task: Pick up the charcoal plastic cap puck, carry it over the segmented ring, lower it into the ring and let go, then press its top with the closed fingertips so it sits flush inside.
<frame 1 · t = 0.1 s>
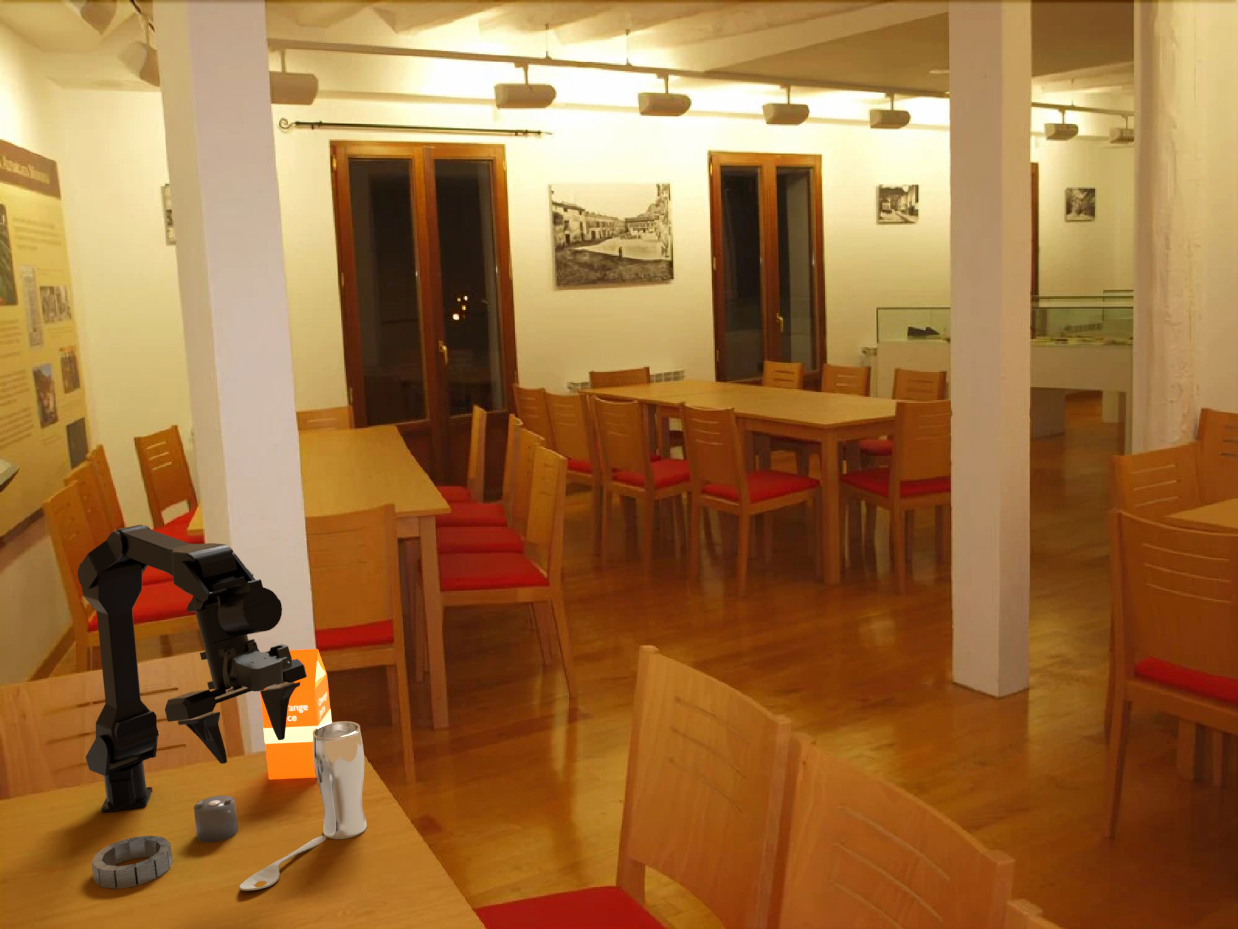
hand: (253, 751, 156), 15 cm above the table, tool pointing down, fingers open, 9 cm apart
segmented ring: (133, 870, 157), on the table
spoon: (293, 863, 158), on the table
orange juice: (302, 769, 188), on the table
beer glass: (345, 831, 165), on the table
cap: (217, 833, 166), on the table
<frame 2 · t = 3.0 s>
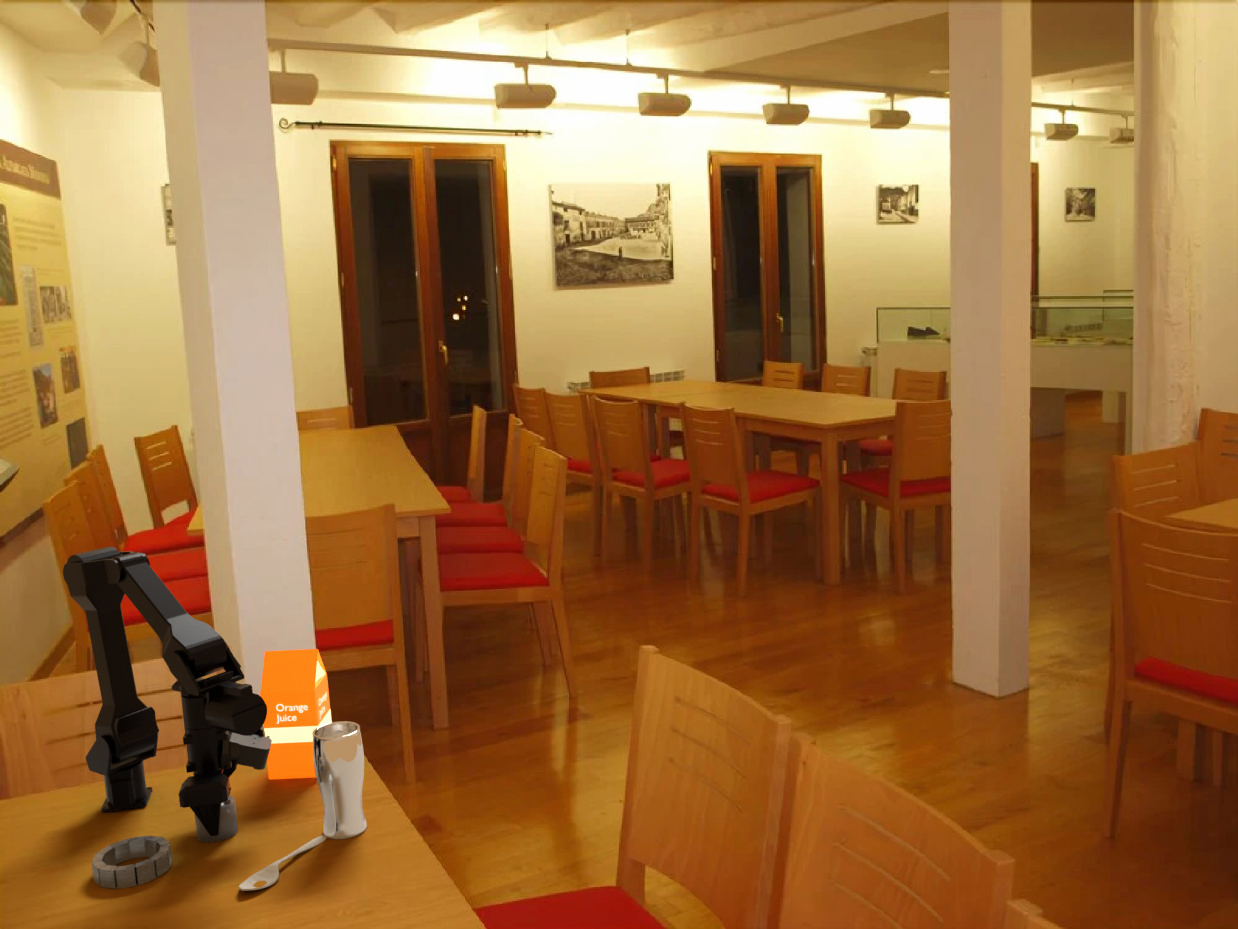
hand: (216, 826, 166), 1 cm above the table, tool pointing down, fingers closed on cap, 6 cm apart
cap: (217, 833, 166), on the table, touching gripper
everything else where it was.
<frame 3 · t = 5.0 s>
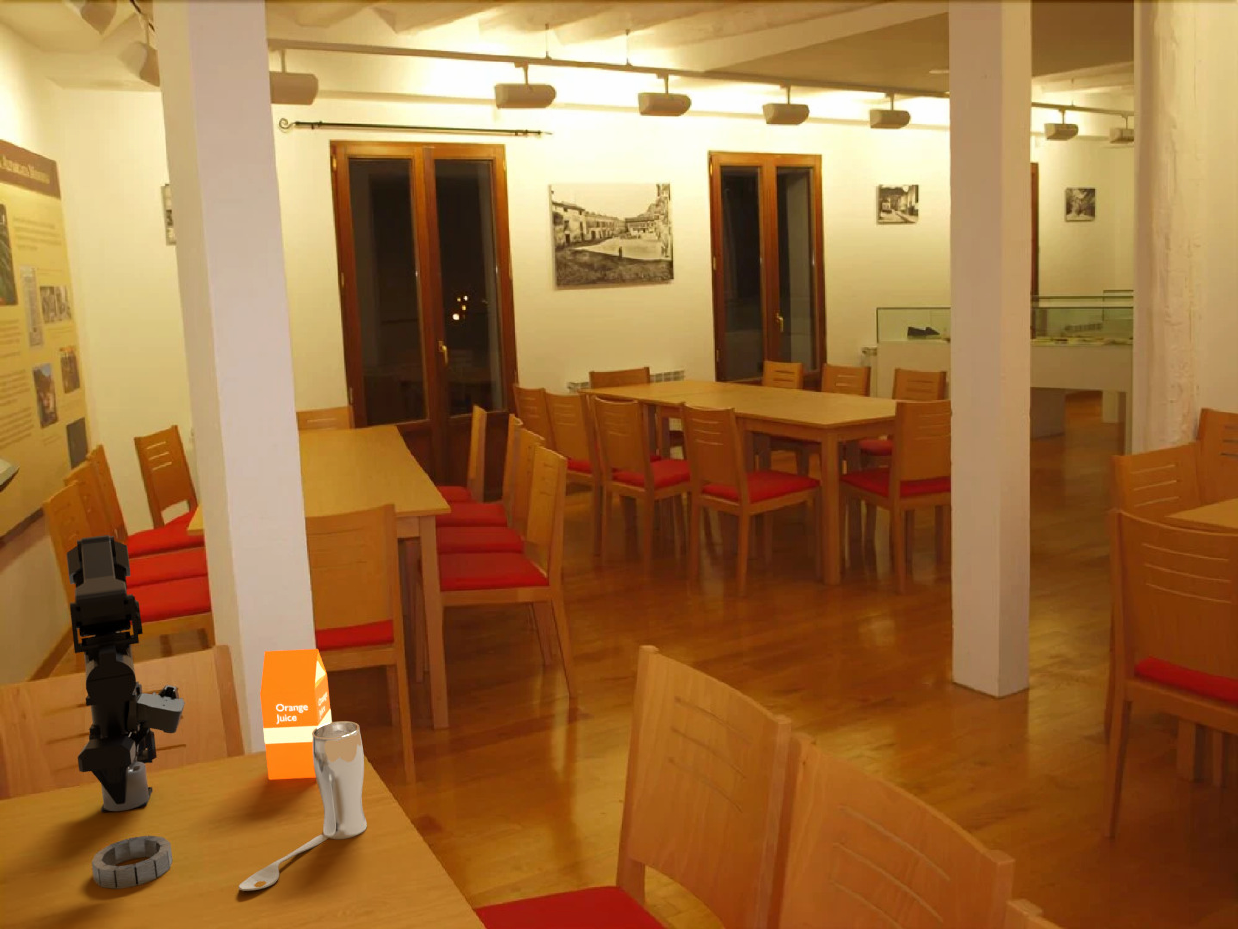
hand: (125, 794, 155), 11 cm above the table, tool pointing down, fingers closed on cap, 6 cm apart
cap: (126, 801, 155), point 10 cm above the table, touching gripper
everything else where it was.
when the fingers open (3 cm above the table, at t = 7.2 s): cap drops 2 cm, resting in segmented ring.
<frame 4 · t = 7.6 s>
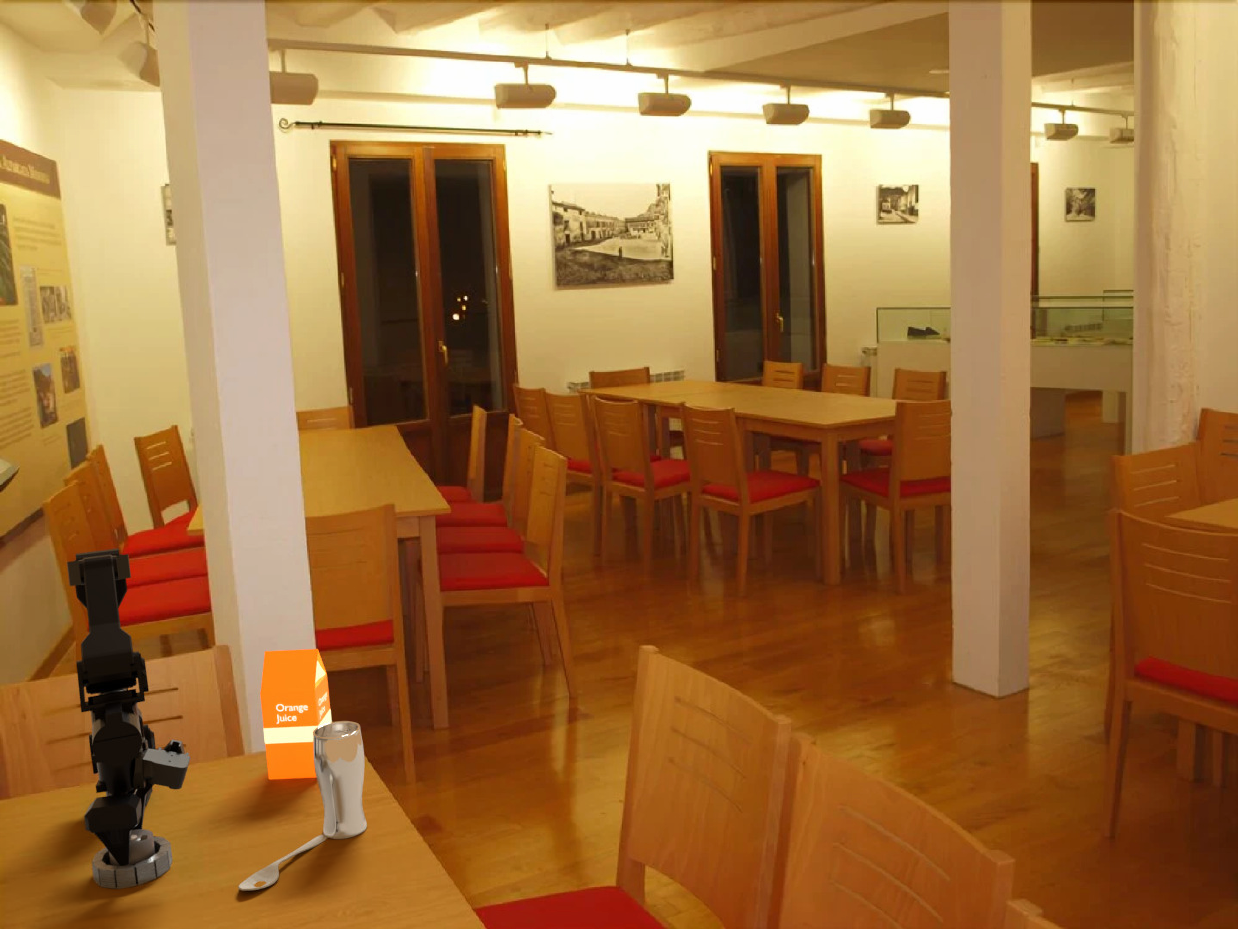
hand: (131, 849, 156), 3 cm above the table, tool pointing down, fingers open, 9 cm apart
cap: (134, 870, 157), resting in segmented ring
everything else where it was.
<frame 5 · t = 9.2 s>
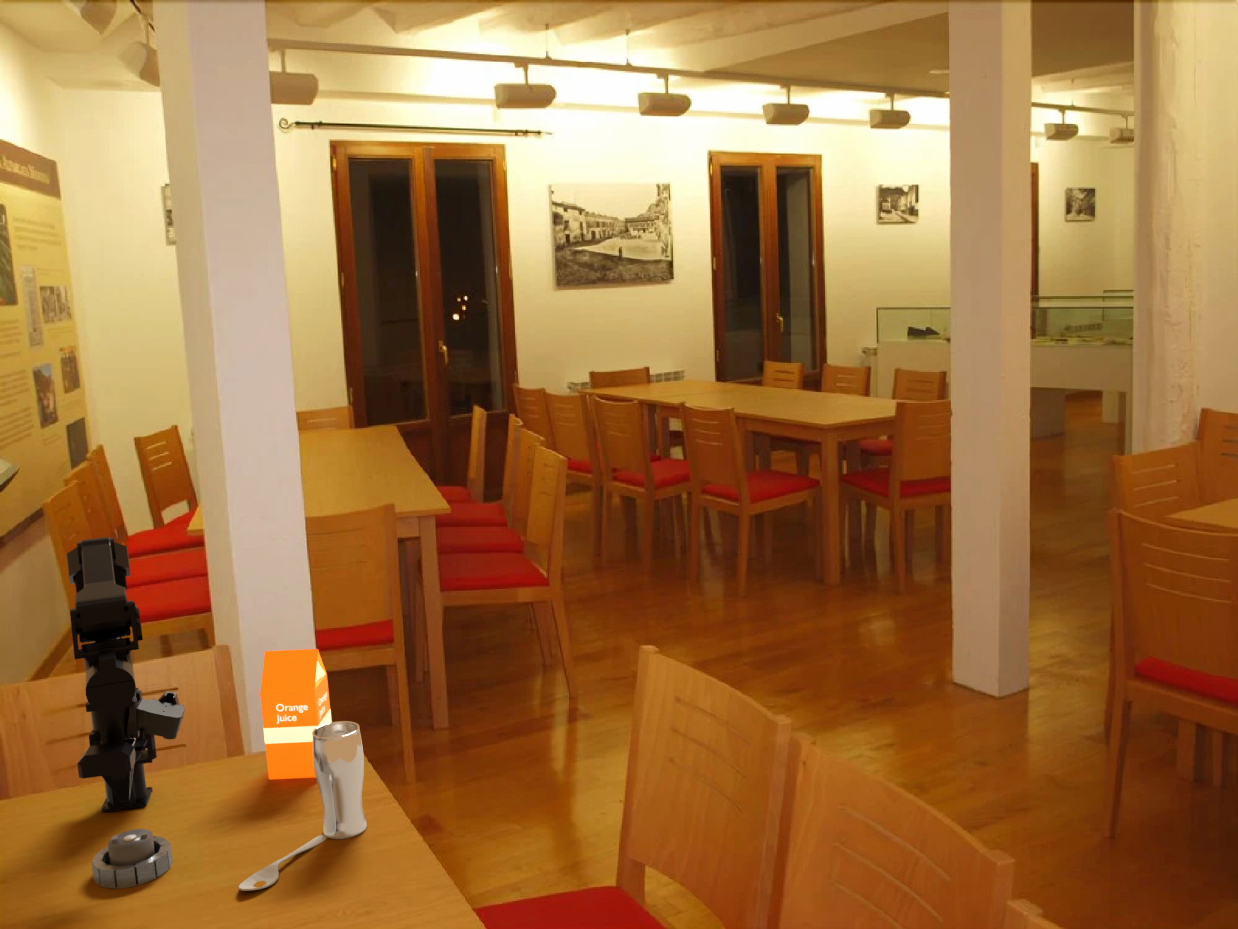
hand: (125, 800, 155), 10 cm above the table, tool pointing down, fingers closed
nothing on the table moved.
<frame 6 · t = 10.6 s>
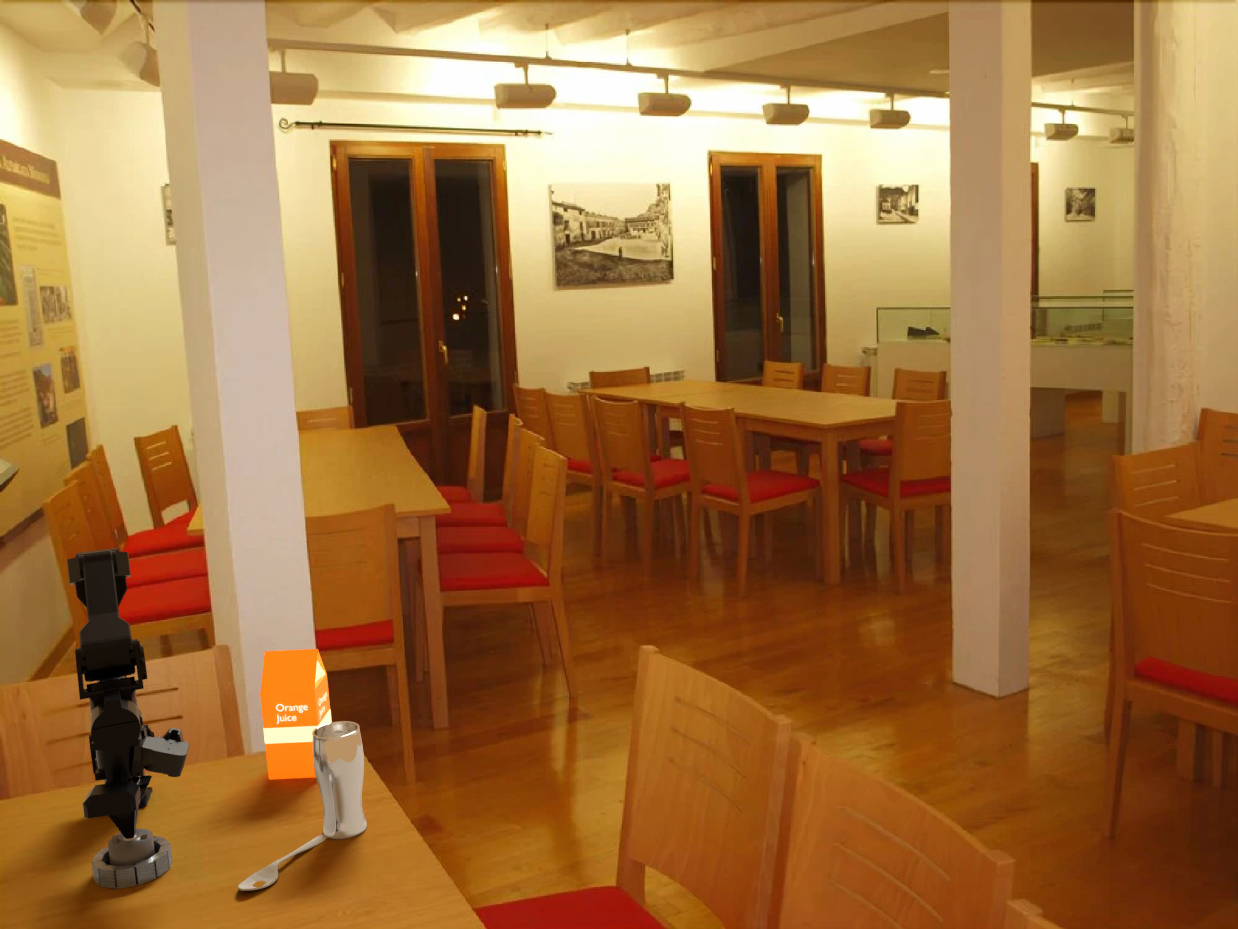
hand: (130, 837, 156), 5 cm above the table, tool pointing down, fingers closed, pressing on cap
cap: (134, 869, 157), resting in segmented ring, touching gripper
everything else where it was.
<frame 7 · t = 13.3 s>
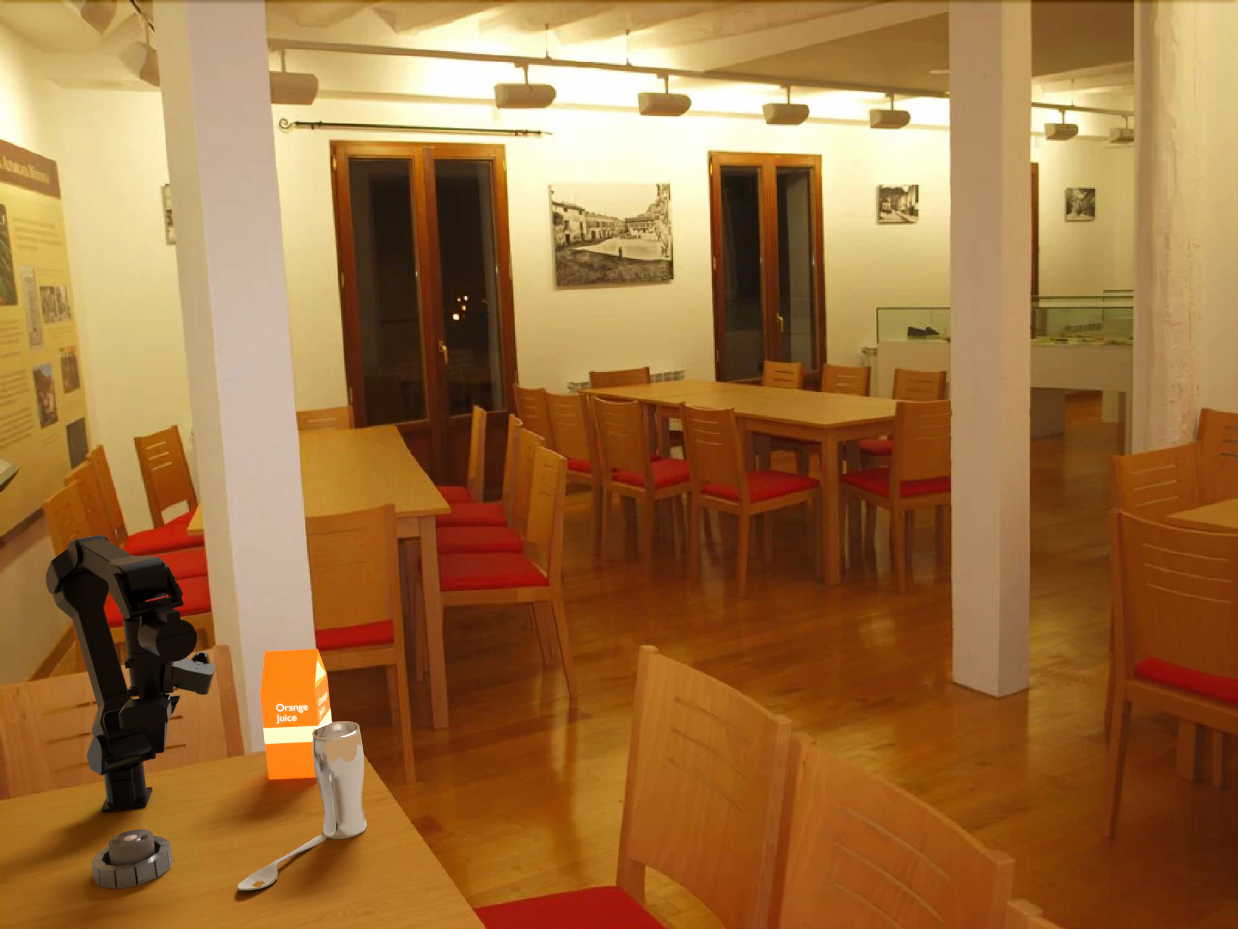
hand: (160, 752, 166), 12 cm above the table, tool pointing down, fingers closed
cap: (134, 870, 157), resting in segmented ring
everything else where it was.
at the end: cap 0.1 cm off-centre on the segmented ring, point 0.0 cm above the segmented ring's base; cap tilted 0°; the gripper is holding nothing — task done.
